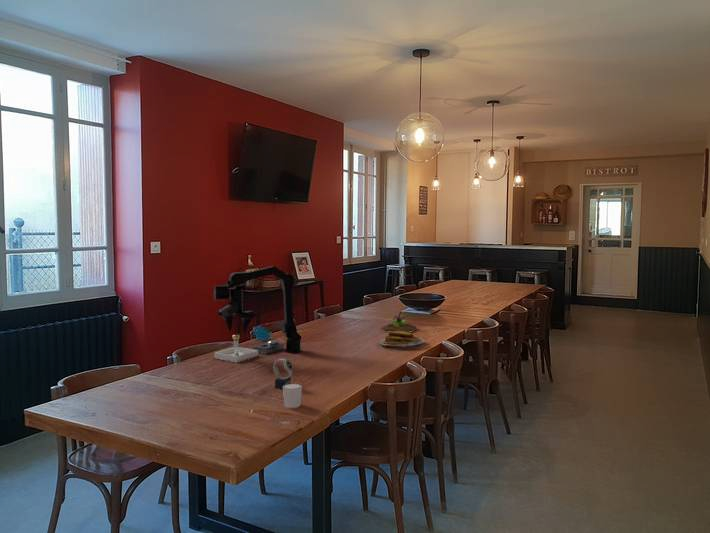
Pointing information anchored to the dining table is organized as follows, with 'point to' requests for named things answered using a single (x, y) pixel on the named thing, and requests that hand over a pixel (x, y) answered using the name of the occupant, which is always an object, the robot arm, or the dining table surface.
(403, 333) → the food on plate
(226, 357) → the tray
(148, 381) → the dining table surface
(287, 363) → the watch
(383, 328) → the plant
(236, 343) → the pin
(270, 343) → the block
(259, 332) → the gear
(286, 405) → the shot glass
